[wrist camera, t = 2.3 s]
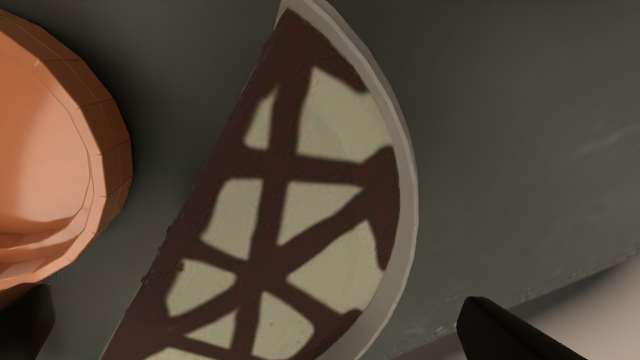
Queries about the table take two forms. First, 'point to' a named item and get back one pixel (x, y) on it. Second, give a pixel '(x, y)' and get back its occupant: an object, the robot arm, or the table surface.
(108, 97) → the pan
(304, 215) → the food container
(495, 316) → the robot arm
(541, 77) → the table surface
